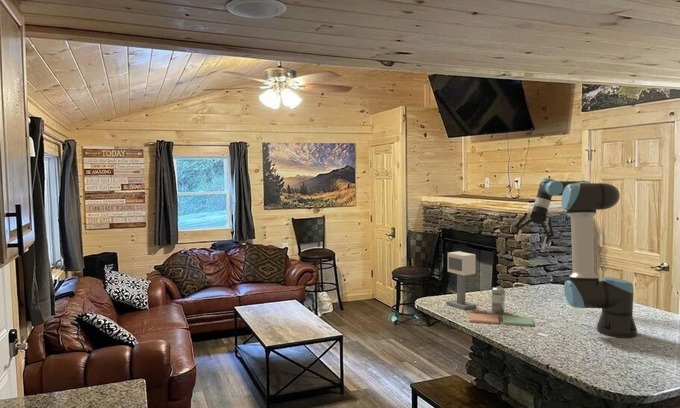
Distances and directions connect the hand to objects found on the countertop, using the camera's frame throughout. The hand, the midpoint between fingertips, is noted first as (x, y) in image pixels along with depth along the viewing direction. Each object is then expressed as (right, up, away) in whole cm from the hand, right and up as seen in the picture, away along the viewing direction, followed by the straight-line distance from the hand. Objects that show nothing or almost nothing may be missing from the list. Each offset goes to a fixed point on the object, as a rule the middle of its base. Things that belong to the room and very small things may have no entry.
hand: (529, 245), depth 267 cm
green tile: (-19, -33, -36) cm, 52 cm away
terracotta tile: (-34, -33, -32) cm, 57 cm away
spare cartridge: (-24, -32, -20) cm, 44 cm away
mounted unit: (-39, -31, -8) cm, 50 cm away
